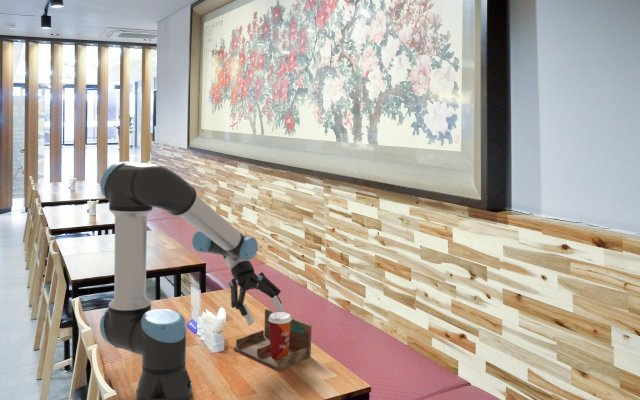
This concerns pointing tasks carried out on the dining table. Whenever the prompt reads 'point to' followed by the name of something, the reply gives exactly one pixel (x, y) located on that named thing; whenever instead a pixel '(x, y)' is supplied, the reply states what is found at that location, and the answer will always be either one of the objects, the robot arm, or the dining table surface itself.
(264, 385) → the dining table surface
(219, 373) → the dining table surface
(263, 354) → the rack
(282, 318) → the paper cup
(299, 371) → the dining table surface
